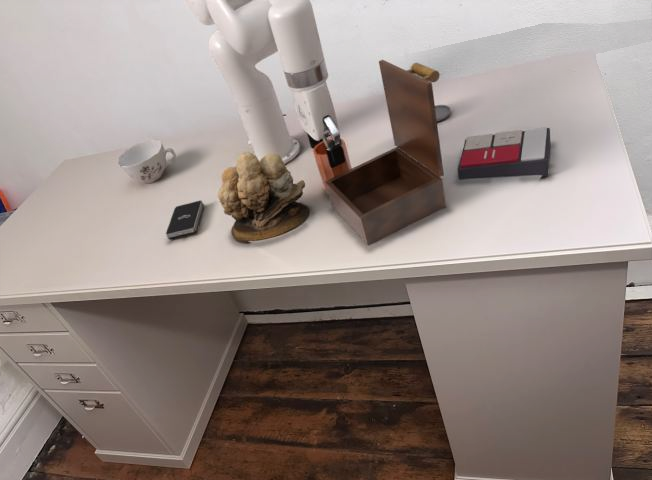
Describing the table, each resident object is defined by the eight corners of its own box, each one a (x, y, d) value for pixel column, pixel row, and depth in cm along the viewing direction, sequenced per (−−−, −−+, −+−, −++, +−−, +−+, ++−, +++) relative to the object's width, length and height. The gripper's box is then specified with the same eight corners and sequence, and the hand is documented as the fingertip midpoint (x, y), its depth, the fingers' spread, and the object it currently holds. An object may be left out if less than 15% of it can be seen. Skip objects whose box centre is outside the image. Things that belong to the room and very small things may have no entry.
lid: (427, 84, 79) (456, 70, 79) (378, 61, 91) (403, 49, 91) (440, 177, 89) (465, 164, 90) (394, 145, 101) (417, 134, 102)
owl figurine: (313, 197, 111) (289, 124, 100) (316, 230, 102) (290, 153, 91) (234, 218, 114) (202, 150, 103) (230, 252, 106) (195, 181, 95)
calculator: (464, 134, 103) (549, 123, 96) (467, 153, 106) (550, 143, 98) (456, 166, 96) (547, 156, 89) (459, 185, 99) (548, 177, 92)
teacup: (127, 195, 139) (111, 170, 134) (138, 171, 148) (123, 146, 143) (178, 181, 136) (164, 154, 131) (186, 157, 145) (173, 131, 140)
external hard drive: (205, 206, 122) (202, 199, 121) (197, 235, 114) (193, 228, 113) (178, 213, 124) (175, 206, 122) (168, 242, 116) (164, 235, 114)
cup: (319, 193, 111) (306, 152, 105) (340, 177, 113) (329, 135, 107) (340, 200, 107) (328, 158, 100) (361, 183, 109) (351, 141, 102)
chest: (369, 249, 93) (360, 218, 88) (333, 210, 105) (324, 181, 101) (446, 210, 94) (442, 178, 90) (402, 176, 106) (396, 146, 102)
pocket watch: (454, 108, 119) (450, 65, 113) (442, 128, 115) (437, 84, 108) (420, 109, 124) (414, 68, 117) (407, 128, 119) (400, 86, 113)
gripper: (272, 68, 100) (296, 146, 112) (305, 96, 88) (328, 181, 99) (307, 53, 101) (327, 131, 112) (345, 78, 88) (363, 164, 100)
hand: (327, 154), depth 106 cm, fingers open, 9 cm apart
